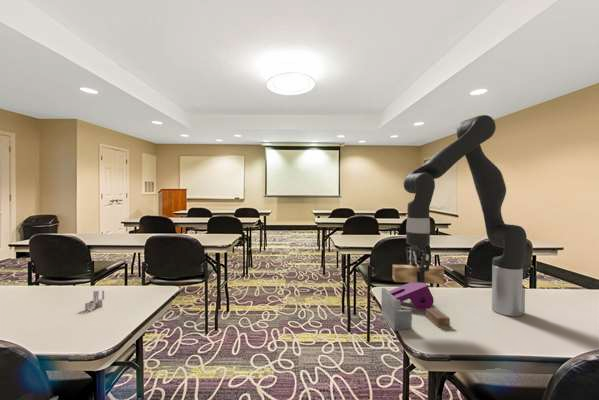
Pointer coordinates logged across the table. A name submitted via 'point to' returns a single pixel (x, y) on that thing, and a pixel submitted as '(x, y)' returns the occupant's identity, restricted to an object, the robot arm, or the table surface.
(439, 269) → the rail
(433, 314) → the rest block
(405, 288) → the mounting bracket
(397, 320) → the bracket
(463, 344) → the table surface
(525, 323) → the table surface
